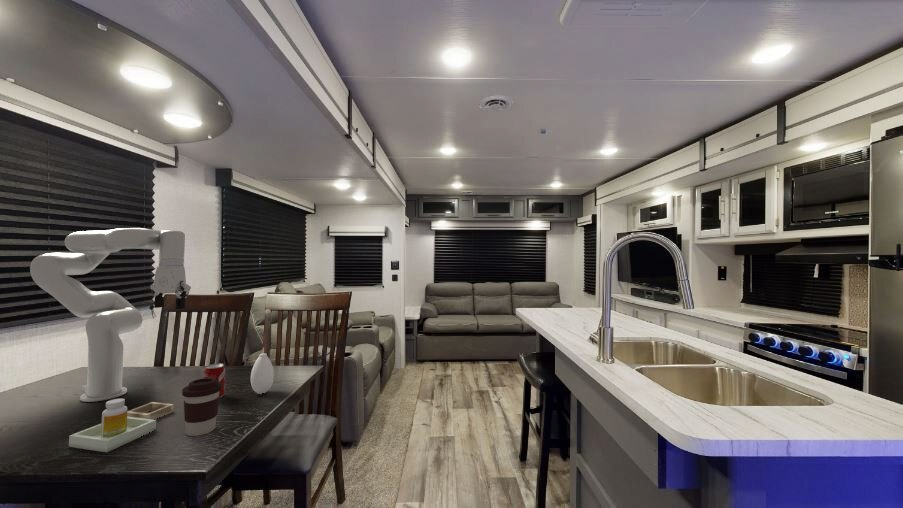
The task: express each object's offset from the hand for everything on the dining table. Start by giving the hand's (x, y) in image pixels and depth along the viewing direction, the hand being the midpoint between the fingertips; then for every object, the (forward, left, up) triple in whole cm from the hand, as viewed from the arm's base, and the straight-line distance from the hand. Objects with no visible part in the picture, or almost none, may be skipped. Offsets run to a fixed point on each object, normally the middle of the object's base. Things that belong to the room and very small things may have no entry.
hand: (169, 308), depth 134 cm
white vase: (+32, +11, -33) cm, 48 cm away
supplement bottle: (+16, -29, -33) cm, 46 cm away
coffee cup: (+36, -20, -34) cm, 53 cm away
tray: (+16, -29, -33) cm, 47 cm away
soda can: (+18, +3, -34) cm, 38 cm away
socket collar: (+11, -15, -33) cm, 38 cm away
